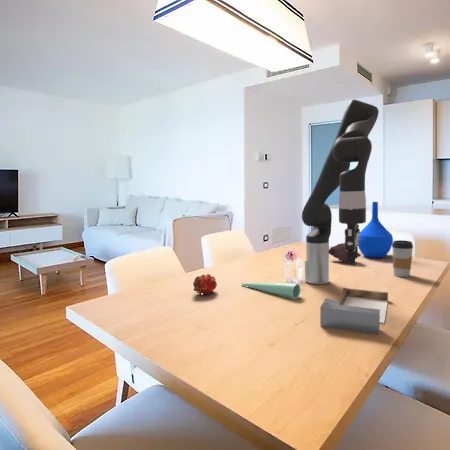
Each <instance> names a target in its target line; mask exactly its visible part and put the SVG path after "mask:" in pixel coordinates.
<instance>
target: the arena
mask: <svg viewBox="0 0 450 450" xmlns="http://www.w3.org/2000/svg"><path fill="white" fill-rule="evenodd" d="M347 296H348V297H357V298H367V299H376V300H385V301H389V292H387V291H379V290H368V289H359V288H348V287H344V288H343V289H342V290H341V292H340V294H339V296H338V297H337V299H336V300H339V305H343V304H344V302H345V300H346V298H347Z"/></svg>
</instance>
